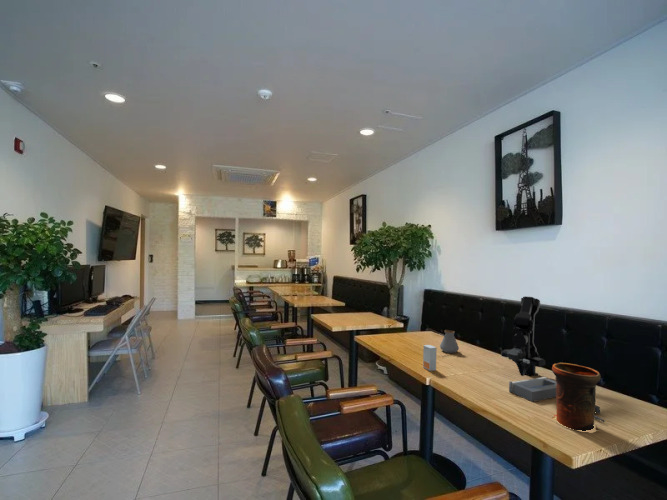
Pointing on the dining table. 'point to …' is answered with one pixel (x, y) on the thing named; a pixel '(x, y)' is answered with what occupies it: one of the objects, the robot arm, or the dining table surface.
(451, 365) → the dining table surface
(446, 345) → the coffee pot
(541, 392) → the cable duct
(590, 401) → the vessel
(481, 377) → the dining table surface
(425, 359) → the skincare box
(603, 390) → the dining table surface
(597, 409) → the walkie-talkie
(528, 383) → the light grey flat bar
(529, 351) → the robot arm
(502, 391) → the dining table surface
